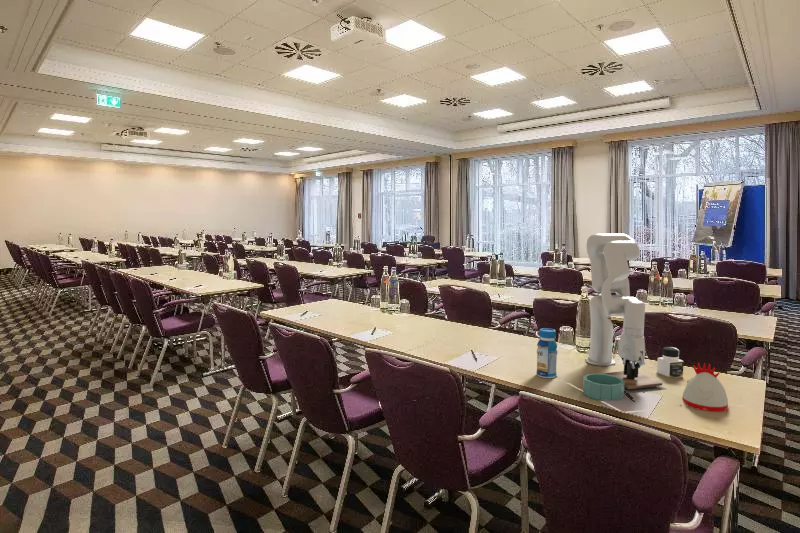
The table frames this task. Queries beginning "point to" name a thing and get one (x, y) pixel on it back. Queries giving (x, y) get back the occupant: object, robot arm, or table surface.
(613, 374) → the lid
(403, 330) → the table surface
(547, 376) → the beverage bottle
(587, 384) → the bowl
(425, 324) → the table surface
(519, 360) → the table surface
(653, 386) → the mat
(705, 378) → the kitchen timer
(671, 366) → the medicine bottle
